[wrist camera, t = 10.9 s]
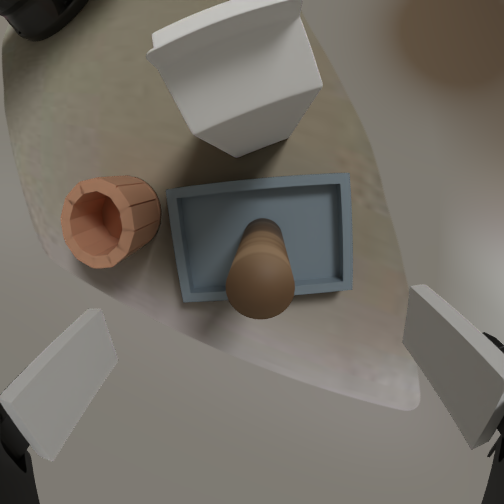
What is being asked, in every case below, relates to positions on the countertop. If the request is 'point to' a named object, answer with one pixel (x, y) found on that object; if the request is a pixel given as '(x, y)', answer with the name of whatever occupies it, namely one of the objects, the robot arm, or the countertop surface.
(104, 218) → the cup
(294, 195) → the tray
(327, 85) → the countertop surface
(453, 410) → the robot arm
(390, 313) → the countertop surface
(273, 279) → the baguette
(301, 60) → the milk
